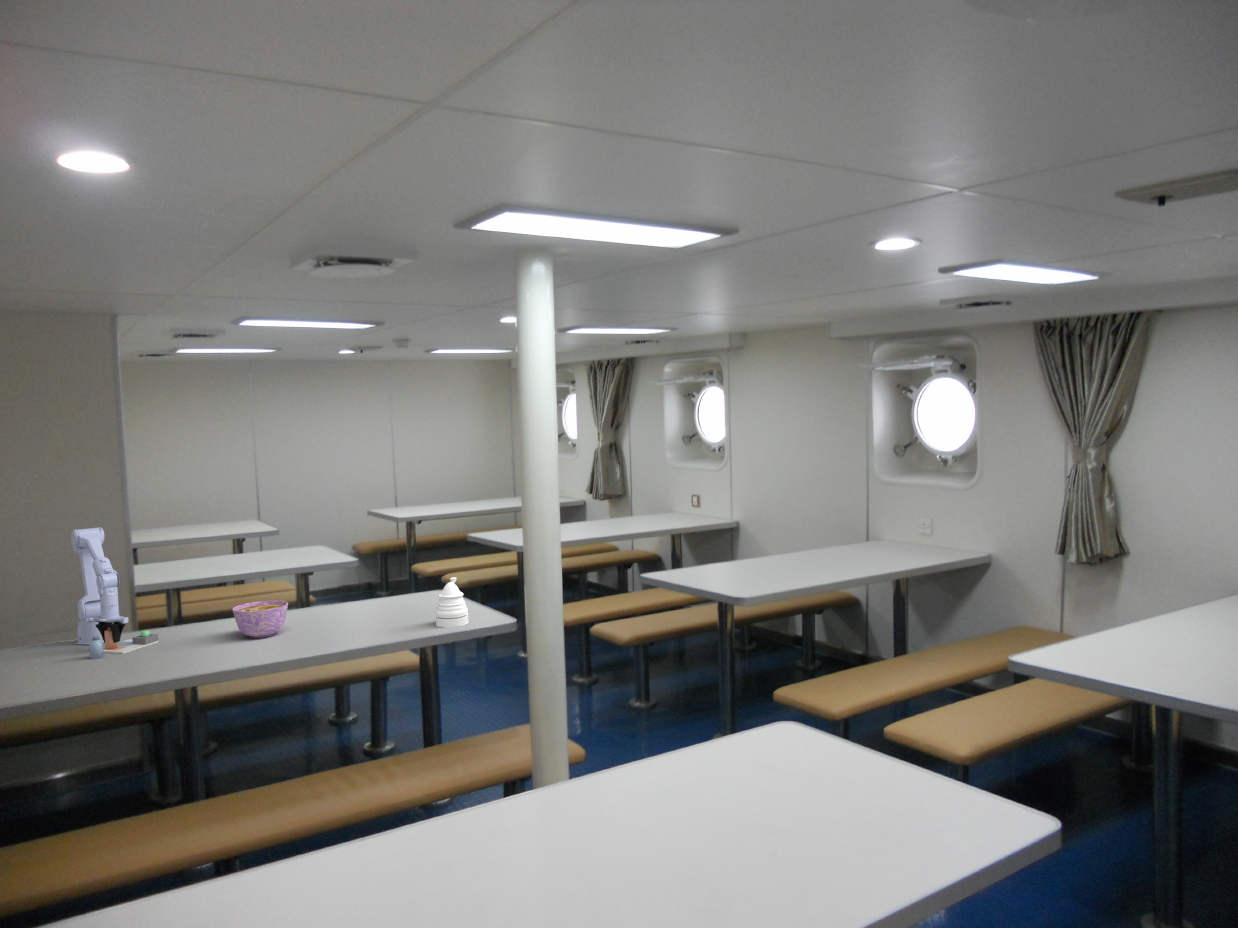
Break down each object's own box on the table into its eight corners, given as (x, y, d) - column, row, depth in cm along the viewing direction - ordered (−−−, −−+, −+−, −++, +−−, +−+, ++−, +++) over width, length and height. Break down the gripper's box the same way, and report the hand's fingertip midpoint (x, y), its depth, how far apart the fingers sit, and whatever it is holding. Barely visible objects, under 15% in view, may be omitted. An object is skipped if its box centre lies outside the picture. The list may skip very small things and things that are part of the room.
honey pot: (449, 618, 340) (447, 575, 339) (475, 621, 334) (473, 576, 333) (429, 625, 328) (427, 580, 327) (455, 628, 322) (453, 582, 321)
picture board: (92, 651, 305) (92, 643, 305) (129, 640, 320) (128, 632, 320) (123, 653, 301) (122, 645, 301) (158, 642, 316) (158, 634, 316)
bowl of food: (291, 626, 334) (290, 598, 334) (287, 638, 315) (286, 608, 315) (237, 632, 328) (235, 603, 328) (230, 644, 309) (228, 613, 309)
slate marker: (87, 658, 295) (86, 638, 295) (97, 655, 299) (96, 635, 299) (96, 659, 294) (95, 638, 294) (106, 656, 298) (104, 635, 298)
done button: (139, 639, 313) (138, 631, 313) (145, 637, 316) (145, 629, 316) (145, 639, 312) (145, 631, 312) (151, 637, 315) (151, 629, 315)
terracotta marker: (102, 648, 306) (101, 628, 305) (112, 645, 310) (111, 625, 309) (111, 649, 304) (109, 628, 304) (120, 646, 308) (119, 626, 308)
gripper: (84, 607, 305) (86, 643, 305) (116, 608, 301) (118, 645, 301) (101, 603, 311) (103, 638, 312) (132, 604, 307) (134, 640, 308)
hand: (111, 641), depth 307 cm, fingers closed on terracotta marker, 4 cm apart
